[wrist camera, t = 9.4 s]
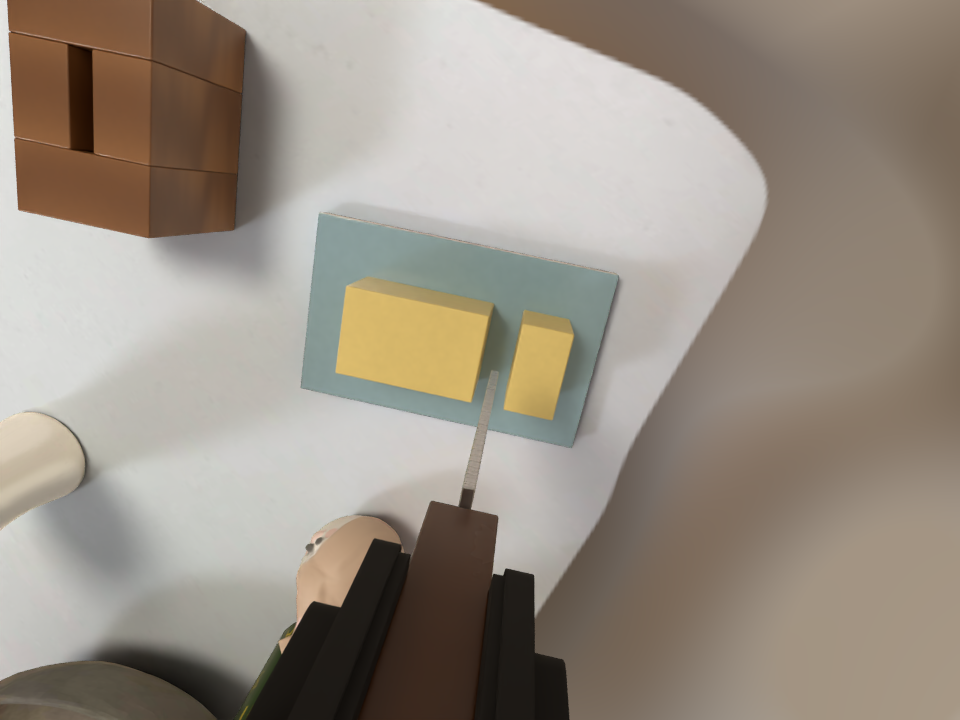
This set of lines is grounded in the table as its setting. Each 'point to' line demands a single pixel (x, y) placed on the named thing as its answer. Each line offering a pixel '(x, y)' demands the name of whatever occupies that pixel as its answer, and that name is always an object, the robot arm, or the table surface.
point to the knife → (440, 609)
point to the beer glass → (36, 463)
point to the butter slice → (538, 365)
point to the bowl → (94, 695)
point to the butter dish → (468, 273)
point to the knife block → (127, 113)
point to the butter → (413, 337)
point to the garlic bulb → (336, 561)
